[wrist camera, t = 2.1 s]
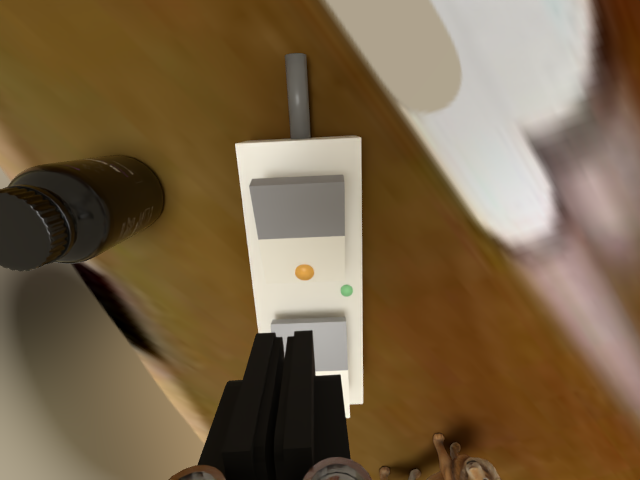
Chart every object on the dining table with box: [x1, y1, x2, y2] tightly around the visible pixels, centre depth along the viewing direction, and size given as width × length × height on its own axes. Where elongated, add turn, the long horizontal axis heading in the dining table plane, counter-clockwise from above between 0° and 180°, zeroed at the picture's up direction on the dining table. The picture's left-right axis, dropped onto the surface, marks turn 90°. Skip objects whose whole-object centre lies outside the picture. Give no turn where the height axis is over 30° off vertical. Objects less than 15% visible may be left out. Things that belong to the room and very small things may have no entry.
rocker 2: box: [271, 317, 350, 418], centre depth 28 cm, size 6×8×2 cm
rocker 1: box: [249, 175, 345, 284], centre depth 24 cm, size 6×8×2 cm
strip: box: [235, 53, 363, 404], centre depth 29 cm, size 9×30×6 cm, turn 3°
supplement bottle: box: [0, 155, 163, 271], centre depth 24 cm, size 7×7×12 cm
